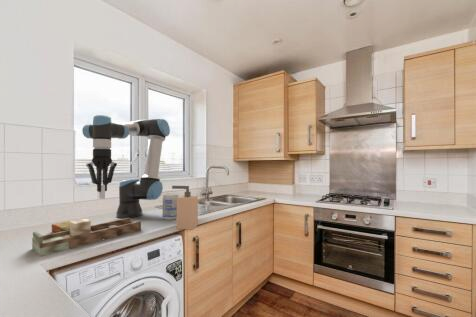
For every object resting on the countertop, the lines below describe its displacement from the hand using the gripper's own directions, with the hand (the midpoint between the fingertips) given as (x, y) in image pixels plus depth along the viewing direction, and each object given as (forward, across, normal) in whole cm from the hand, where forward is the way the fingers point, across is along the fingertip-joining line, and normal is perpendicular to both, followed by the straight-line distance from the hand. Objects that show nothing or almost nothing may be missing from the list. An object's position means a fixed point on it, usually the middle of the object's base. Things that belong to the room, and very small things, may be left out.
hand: (102, 198), depth 109 cm
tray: (+18, +4, 0) cm, 18 cm away
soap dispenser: (+18, -33, +19) cm, 42 cm away
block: (+15, +9, 0) cm, 17 cm away
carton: (+18, +8, -19) cm, 28 cm away
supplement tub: (+18, -40, -2) cm, 44 cm away
